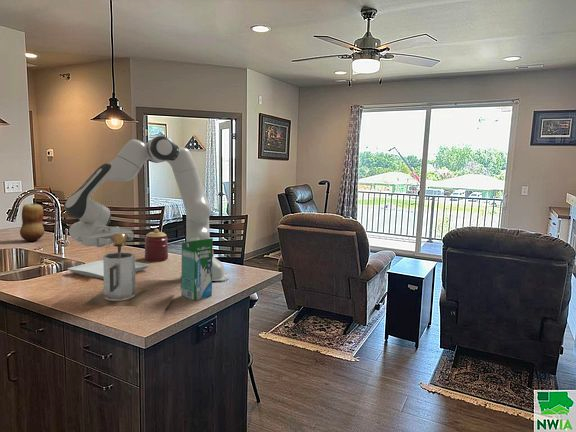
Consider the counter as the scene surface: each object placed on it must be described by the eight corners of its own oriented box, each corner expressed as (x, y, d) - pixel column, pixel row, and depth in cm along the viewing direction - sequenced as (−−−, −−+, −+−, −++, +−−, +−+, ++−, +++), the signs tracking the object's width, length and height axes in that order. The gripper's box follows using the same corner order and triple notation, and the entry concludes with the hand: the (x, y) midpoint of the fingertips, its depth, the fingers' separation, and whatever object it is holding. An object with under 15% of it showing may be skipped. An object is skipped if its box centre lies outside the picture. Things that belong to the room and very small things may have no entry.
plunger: (132, 291, 159) (132, 233, 156) (126, 297, 152) (125, 236, 149) (113, 290, 159) (112, 232, 156) (106, 296, 151) (105, 235, 148)
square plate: (150, 271, 201) (150, 263, 201) (106, 284, 177) (106, 275, 176) (112, 263, 213) (112, 256, 212) (66, 275, 188) (65, 267, 187)
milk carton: (198, 291, 171) (199, 234, 168) (211, 296, 165) (212, 237, 162) (181, 295, 164) (181, 237, 161) (194, 301, 158) (195, 240, 155)
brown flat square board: (152, 292, 166) (152, 289, 166) (137, 309, 146) (137, 305, 146) (104, 292, 165) (103, 288, 164) (82, 309, 145) (82, 305, 145)
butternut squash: (38, 243, 255) (37, 205, 252) (16, 242, 253) (14, 204, 250) (48, 239, 269) (47, 203, 266) (27, 239, 267) (25, 202, 264)
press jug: (138, 292, 161) (138, 252, 159) (126, 304, 147) (126, 261, 145) (110, 292, 160) (110, 252, 158) (96, 304, 146) (95, 260, 144)
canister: (161, 262, 218) (161, 231, 216) (140, 260, 220) (139, 229, 218) (172, 257, 231) (172, 228, 229) (151, 255, 233) (151, 226, 231)
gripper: (73, 231, 150) (95, 235, 143) (120, 225, 167) (141, 229, 160) (73, 247, 151) (95, 252, 144) (120, 240, 168) (142, 244, 161)
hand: (120, 240), depth 152 cm, fingers open, 8 cm apart
